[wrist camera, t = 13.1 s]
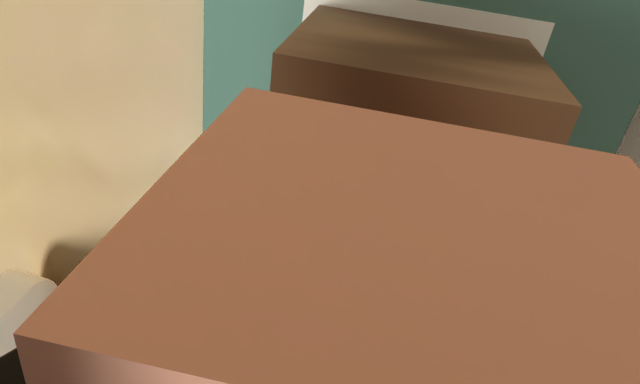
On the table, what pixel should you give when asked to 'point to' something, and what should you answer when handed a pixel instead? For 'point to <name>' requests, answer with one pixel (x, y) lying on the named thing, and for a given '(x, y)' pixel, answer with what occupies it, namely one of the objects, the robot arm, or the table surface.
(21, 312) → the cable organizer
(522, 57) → the walnut block
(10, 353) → the robot arm
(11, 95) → the table surface
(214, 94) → the green flat square panel
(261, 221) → the terracotta block
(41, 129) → the table surface
